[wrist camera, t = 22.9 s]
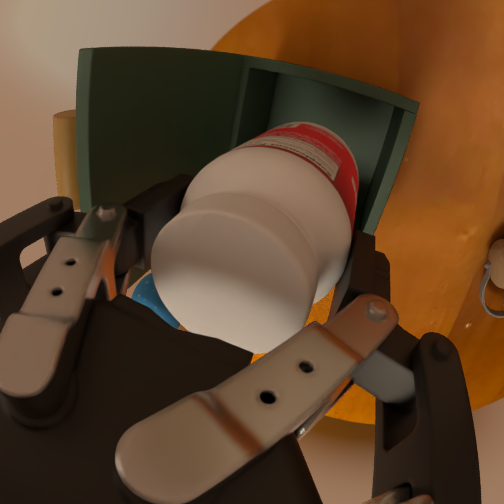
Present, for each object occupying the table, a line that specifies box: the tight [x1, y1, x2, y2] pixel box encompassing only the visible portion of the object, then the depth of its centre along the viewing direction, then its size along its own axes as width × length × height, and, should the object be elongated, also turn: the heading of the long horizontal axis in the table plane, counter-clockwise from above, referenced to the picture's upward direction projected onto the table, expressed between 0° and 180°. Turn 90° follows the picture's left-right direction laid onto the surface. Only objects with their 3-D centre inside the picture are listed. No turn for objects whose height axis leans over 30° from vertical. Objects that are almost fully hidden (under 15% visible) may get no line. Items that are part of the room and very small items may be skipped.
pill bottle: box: [151, 122, 359, 354], centre depth 13 cm, size 6×6×11 cm
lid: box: [53, 47, 243, 289], centre depth 16 cm, size 12×12×6 cm
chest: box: [227, 55, 420, 239], centre depth 23 cm, size 12×12×8 cm
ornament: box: [132, 273, 180, 329], centre depth 30 cm, size 5×5×15 cm
